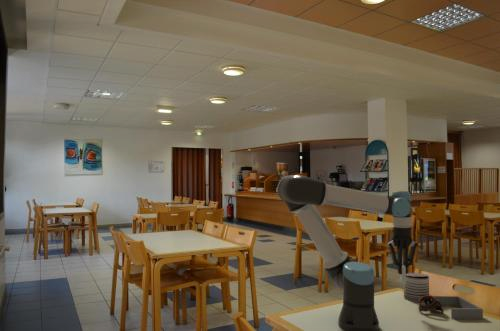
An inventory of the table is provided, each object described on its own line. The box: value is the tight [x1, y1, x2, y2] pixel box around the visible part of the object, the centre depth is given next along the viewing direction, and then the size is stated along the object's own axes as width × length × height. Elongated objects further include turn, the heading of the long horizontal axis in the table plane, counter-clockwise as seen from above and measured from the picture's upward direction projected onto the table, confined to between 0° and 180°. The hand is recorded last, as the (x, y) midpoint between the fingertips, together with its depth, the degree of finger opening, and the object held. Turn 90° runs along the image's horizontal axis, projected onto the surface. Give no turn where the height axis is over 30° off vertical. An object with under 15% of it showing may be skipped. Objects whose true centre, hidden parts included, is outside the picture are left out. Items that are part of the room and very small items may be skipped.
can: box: [403, 272, 430, 304], centre depth 188 cm, size 11×11×12 cm
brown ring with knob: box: [417, 294, 445, 315], centre depth 170 cm, size 12×10×8 cm
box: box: [431, 295, 484, 320], centre depth 170 cm, size 12×18×4 cm
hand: (402, 281), depth 170 cm, fingers closed
